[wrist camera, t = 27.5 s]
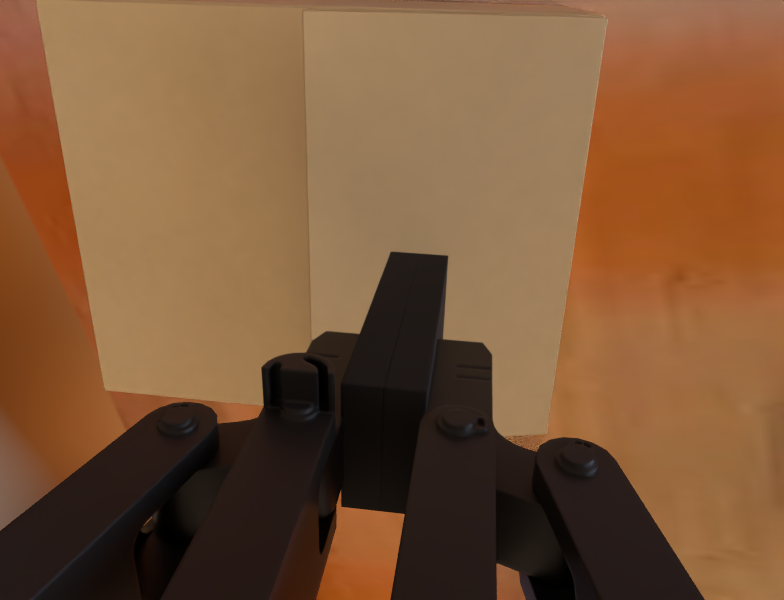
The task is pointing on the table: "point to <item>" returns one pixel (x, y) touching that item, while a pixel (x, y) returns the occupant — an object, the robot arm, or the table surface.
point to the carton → (194, 180)
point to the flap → (452, 175)
